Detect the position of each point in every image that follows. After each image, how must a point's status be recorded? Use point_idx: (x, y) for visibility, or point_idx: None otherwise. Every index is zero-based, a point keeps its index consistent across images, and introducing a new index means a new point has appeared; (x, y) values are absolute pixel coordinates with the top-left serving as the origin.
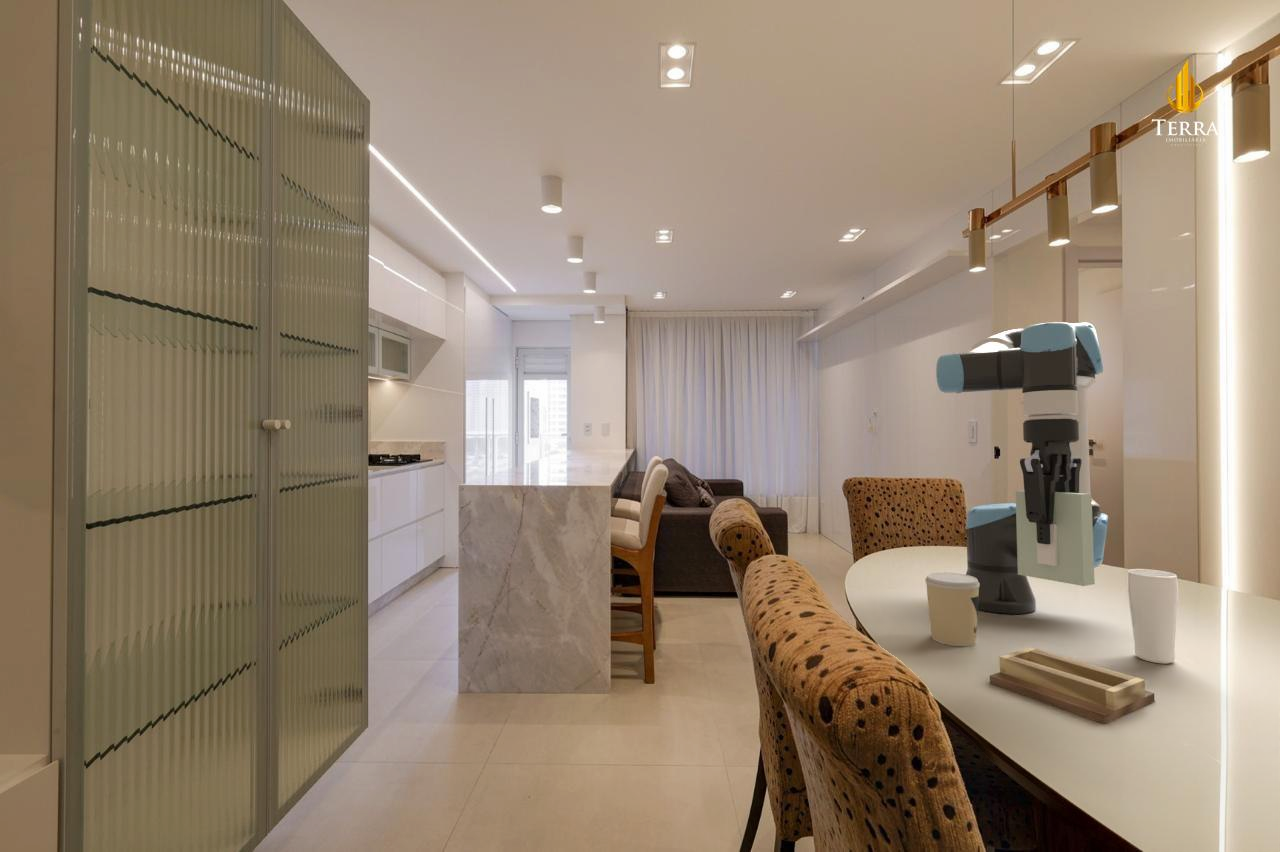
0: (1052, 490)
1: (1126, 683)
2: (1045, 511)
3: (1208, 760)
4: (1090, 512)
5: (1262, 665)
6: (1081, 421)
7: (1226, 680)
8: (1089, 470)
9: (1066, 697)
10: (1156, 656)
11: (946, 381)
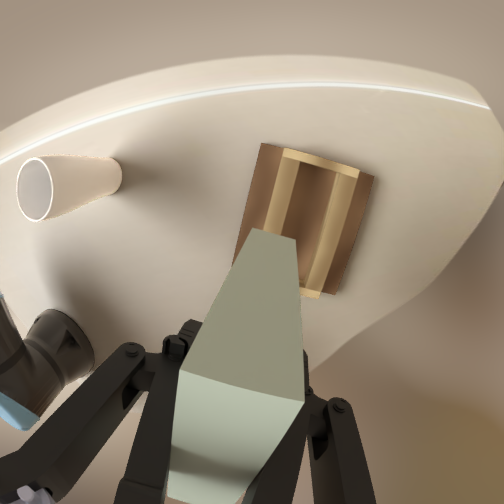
0: (280, 480)
1: (316, 162)
2: (334, 419)
3: (387, 97)
4: (223, 314)
5: (64, 104)
6: None
7: (129, 108)
8: None
9: (350, 215)
10: (118, 170)
11: None
